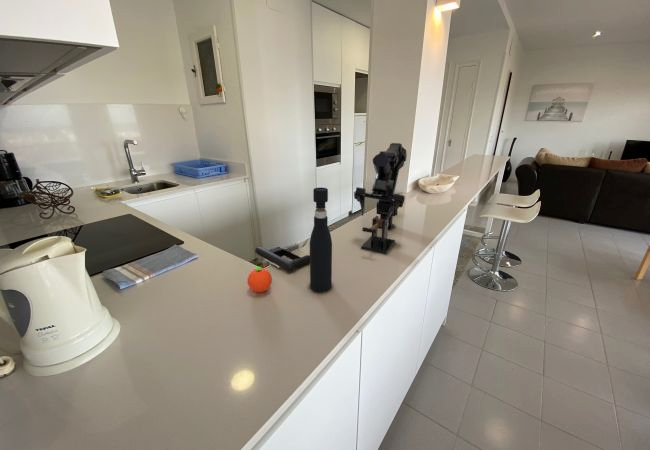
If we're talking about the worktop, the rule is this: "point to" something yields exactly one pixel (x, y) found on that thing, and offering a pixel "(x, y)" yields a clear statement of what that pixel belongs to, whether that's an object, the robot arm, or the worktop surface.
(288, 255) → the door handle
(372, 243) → the bracket
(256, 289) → the clementine
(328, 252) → the black bottle
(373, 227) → the lever
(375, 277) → the worktop surface
